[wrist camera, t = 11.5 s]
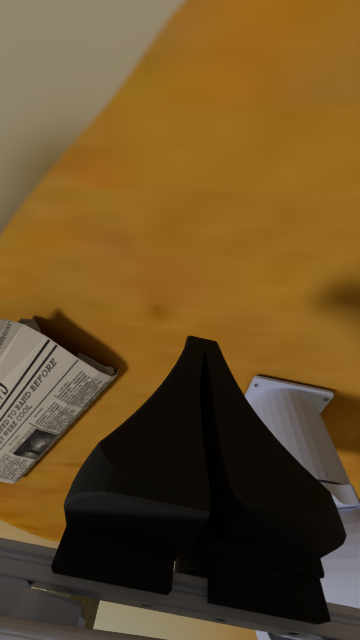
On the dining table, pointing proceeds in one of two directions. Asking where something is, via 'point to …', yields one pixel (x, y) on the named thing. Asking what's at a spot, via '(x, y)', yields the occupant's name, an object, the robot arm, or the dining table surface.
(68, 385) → the newspaper
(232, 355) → the dining table surface
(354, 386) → the dining table surface
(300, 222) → the dining table surface
